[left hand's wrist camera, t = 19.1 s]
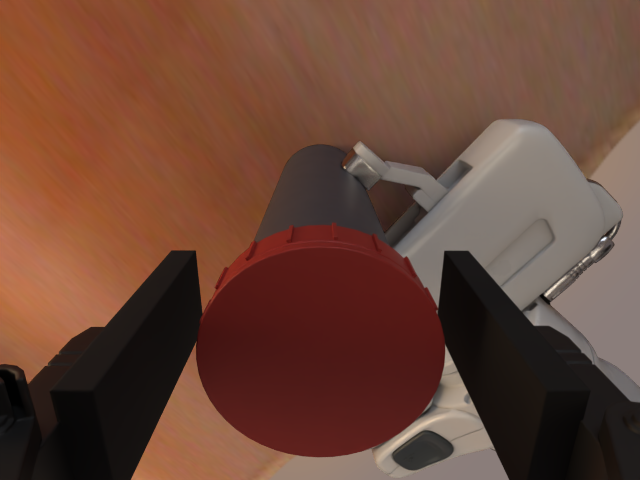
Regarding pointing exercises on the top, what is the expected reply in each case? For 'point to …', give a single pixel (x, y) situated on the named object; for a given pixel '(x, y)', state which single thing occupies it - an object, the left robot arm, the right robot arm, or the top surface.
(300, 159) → the screw-top jar
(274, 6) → the top surface
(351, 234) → the lid
